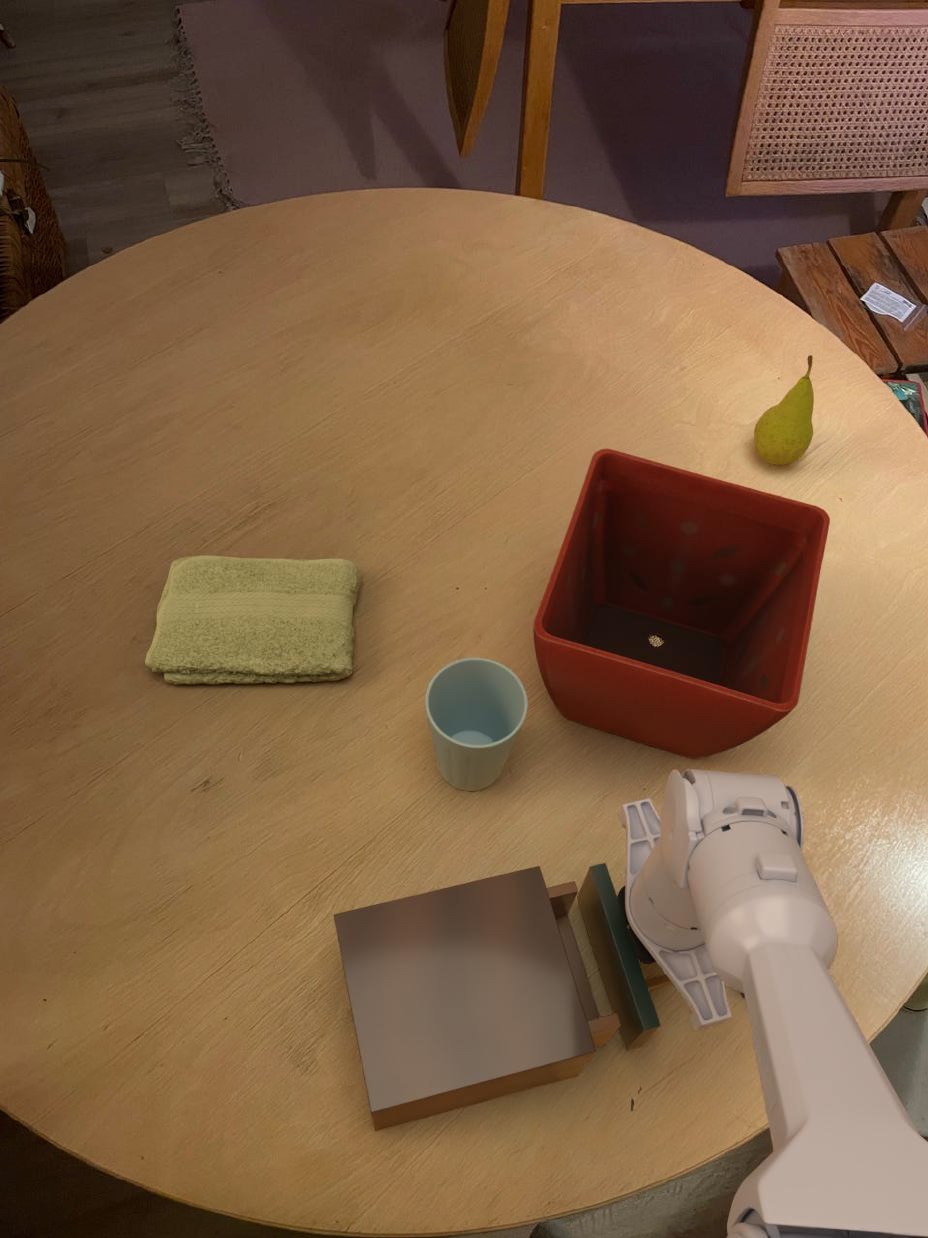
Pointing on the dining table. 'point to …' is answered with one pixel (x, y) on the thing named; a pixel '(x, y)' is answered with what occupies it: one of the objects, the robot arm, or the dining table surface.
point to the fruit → (787, 424)
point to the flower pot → (679, 606)
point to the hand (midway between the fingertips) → (646, 944)
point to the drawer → (607, 961)
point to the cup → (474, 720)
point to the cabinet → (461, 996)
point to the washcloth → (255, 620)
